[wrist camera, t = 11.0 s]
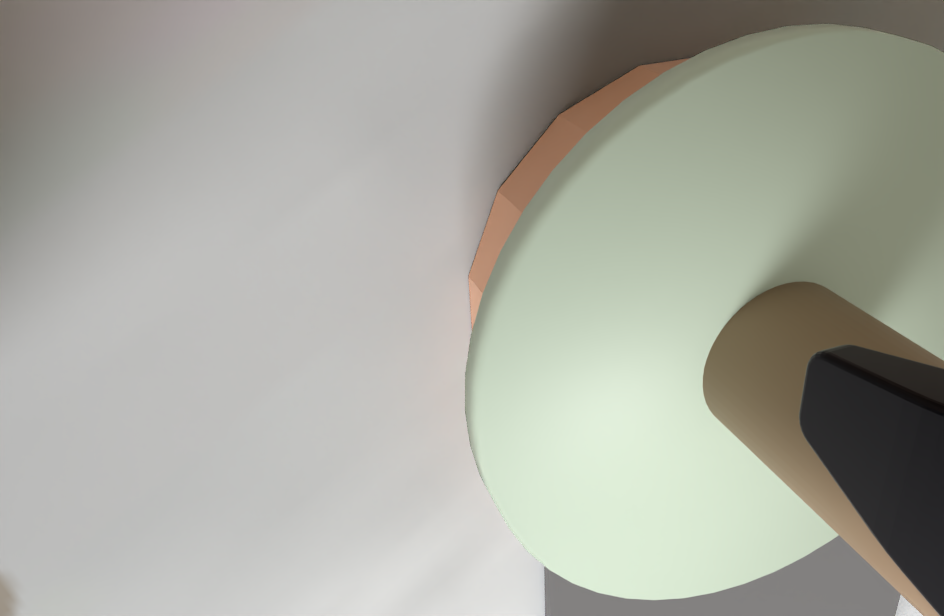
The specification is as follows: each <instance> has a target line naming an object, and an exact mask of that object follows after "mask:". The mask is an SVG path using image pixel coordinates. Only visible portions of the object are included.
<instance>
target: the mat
mask: <svg viewBox="0 0 944 616" xmlns="http://www.w3.org/2000/svg"><path fill="white" fill-rule="evenodd" d="M900 595H901V594H900V593H899V592H898V591H897V590H896V589H895V588H894V587H893V586H892V585H891V584H890V583H889V582H888V581H887V580H885V579H884V578H883V577H882V576H881V575H880V574H879V573H878V572H877V571H876V570H875V569H874V568H873V567H872V566H871V565H870V564H869V563H868V562H867V561H866V560H865V559H863V558H862V557H861V556H860V555H859V554H858V553H857V552H856V551H855V550H854V549H853V548H852V547H851V546H850V545H849V544H848V543H847V542H846V541H845V540H844V539H843V538H842V537H840V536H839V535H838V536H837V537H835V538H834V539H833V540H831V541H829V542H828V543H826V544H825V545H823V546H821V547H820V548H818V549H816V550H815V551H813V552H811V553H810V554H808V555H806V556H805V557H803V558H801V559H799V560H797V561H795V562H793V563H791V564H789V565H787V566H785V567H783V568H781V569H779V570H777V571H775V572H773V573H770V574H768V575H765V576H763V577H760V578H758V579H755V580H753V581H750V582H748V583H745V584H742V585H739V586H735V587H732V588H729V589H725V590H722V591H718V592H715V593H710V594H704V595H699V596H693V597H688V598H680V599H665V600H643V599H626V598H621V597H616V596H611V595H606V594H601V593H597V592H595V591H592V590H589V589H586V588H584V587H581V586H578V585H576V584H573V583H571V582H569V581H568V580H566V579H564V578H562V577H561V576H559V575H557V574H556V573H554V572H552V571H550V570H549V569H548V568H546V567H545V616H895V614H896V610H897V606H898V602H899V598H900Z"/></svg>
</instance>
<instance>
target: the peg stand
mask: <svg viewBox="0 0 944 616" xmlns="http://www.w3.org/2000/svg"><path fill="white" fill-rule="evenodd" d="M846 344H851V345H856V346H860V347H864V348H868V349H871V350H875V351H879V352H883V353H886V354H890V355H894V356H898V357H902V358H905V359H909V360H913V361H917V362H921V363H924V364H928V365H932V366H936V367H940V368H943V369H944V52H942V51H940V50H938V49H936V48H934V47H933V46H930V45H927V44H924V43H920V42H917V41H914V40H910V39H907V38H904V37H901V36H897V35H893V34H889V33H885V32H880V31H876V30H872V29H868V28H864V27H855V26H846V25H837V24H828V23H826V24H810V25H793V26H785V27H780V28H776V29H771V30H767V31H762V32H758V33H753V34H749V35H745V36H743V37H740V38H737V39H735V40H732V41H729V42H727V43H724V44H721V45H718V46H716V47H713V48H710V49H708V50H705V51H703V52H701V53H699V54H698V55H696V56H694V57H692V58H690V59H688V60H686V61H684V62H682V63H681V64H679V65H677V66H675V67H673V68H671V69H669V70H667V71H665V72H664V73H662V74H661V75H659V76H658V77H656V78H655V79H653V80H652V81H651V82H649V83H648V84H646V85H645V86H643V87H642V88H641V89H639V90H638V91H636V92H635V93H633V94H632V95H630V96H629V97H628V98H626V99H625V100H623V101H622V102H621V103H620V104H619V105H618V106H617V107H615V108H614V109H613V110H612V111H611V112H610V113H609V114H607V115H606V116H605V117H604V118H603V119H602V120H601V121H599V122H598V123H597V124H596V125H595V126H594V127H593V128H591V129H590V130H589V131H588V132H587V133H586V134H585V135H584V136H583V137H582V138H581V139H580V141H579V142H578V143H577V144H576V145H575V146H574V147H573V148H572V149H571V150H570V152H569V153H568V154H567V155H566V156H565V157H564V158H563V159H562V160H561V161H560V163H559V164H558V165H557V166H556V167H555V168H554V169H553V170H552V172H551V173H550V175H549V176H548V177H547V179H546V180H545V181H544V183H543V184H542V186H541V187H540V188H539V190H538V191H537V192H536V194H535V195H534V197H533V198H532V199H531V201H530V202H529V203H528V205H527V206H526V208H525V209H524V211H523V212H522V214H521V216H520V218H519V219H518V221H517V223H516V225H515V226H514V228H513V230H512V232H511V233H510V235H509V237H508V239H507V241H506V242H505V244H504V246H503V248H502V249H501V251H500V254H499V256H498V258H497V261H496V263H495V265H494V268H493V270H492V272H491V275H490V277H489V280H488V282H487V284H486V287H485V289H484V291H483V294H482V298H481V301H480V305H479V308H478V312H477V315H476V319H475V322H474V326H473V329H472V333H471V338H470V345H469V352H468V359H467V365H466V372H465V414H466V421H467V427H468V434H469V441H470V446H471V449H472V452H473V455H474V458H475V462H476V465H477V468H478V471H479V474H480V476H481V478H482V480H483V482H484V484H485V486H486V488H487V490H488V491H489V493H490V495H491V497H492V499H493V501H494V503H495V504H496V506H497V508H498V510H499V511H500V513H501V515H502V517H503V518H504V520H505V522H506V524H507V525H508V527H509V529H510V530H511V531H512V533H513V534H514V535H515V536H516V538H517V539H518V540H519V541H520V543H521V544H522V545H523V546H524V548H525V549H526V550H527V551H528V552H529V553H530V554H531V555H532V556H534V557H535V558H536V559H537V560H538V561H539V562H541V563H542V564H543V565H544V566H545V567H546V568H548V569H549V570H550V571H552V572H554V573H556V574H557V575H559V576H561V577H562V578H564V579H566V580H568V581H569V582H571V583H573V584H576V585H578V586H581V587H584V588H586V589H589V590H592V591H595V592H597V593H601V594H606V595H611V596H616V597H621V598H626V599H643V600H665V599H680V598H688V597H693V596H699V595H704V594H710V593H715V592H718V591H722V590H725V589H729V588H732V587H735V586H739V585H742V584H745V583H748V582H750V581H753V580H755V579H758V578H760V577H763V576H765V575H768V574H770V573H773V572H775V571H777V570H779V569H781V568H783V567H785V566H787V565H789V564H791V563H793V562H795V561H797V560H799V559H801V558H803V557H805V556H806V555H808V554H810V553H811V552H813V551H815V550H816V549H818V548H820V547H821V546H823V545H825V544H826V543H828V542H829V541H831V540H833V539H834V538H835V537H837V536H838V535H839V536H840V537H842V538H843V539H844V540H845V541H846V542H847V543H848V544H849V545H850V546H851V547H852V548H853V549H854V550H855V551H856V552H857V553H858V554H859V555H860V556H861V557H862V558H863V559H865V560H866V561H867V562H868V563H869V564H870V565H871V566H872V567H873V568H874V569H875V570H876V571H877V572H878V573H879V574H880V575H881V576H882V577H883V578H884V579H885V580H887V581H888V582H889V583H890V584H891V585H892V586H893V587H894V588H895V589H896V590H897V591H898V592H899V593H900V594H901V595H902V596H903V597H904V598H905V599H906V600H907V601H908V602H910V603H911V604H912V605H913V606H914V607H915V608H916V609H917V610H918V611H919V612H920V613H921V614H922V615H923V616H939V615H938V613H937V612H936V611H935V610H934V609H933V608H932V606H931V605H930V604H929V603H928V602H927V601H926V599H925V598H924V597H923V596H922V595H921V594H920V592H919V591H918V590H917V589H916V588H915V587H914V585H913V584H912V583H911V582H910V581H909V580H908V578H907V577H906V576H905V575H904V574H903V573H902V571H901V570H900V569H899V568H898V566H897V565H896V564H895V563H894V562H893V560H892V559H891V558H890V557H889V555H888V554H887V553H886V552H885V550H884V549H883V548H882V546H881V545H880V544H879V542H878V541H877V540H876V538H875V537H874V536H873V534H872V533H871V531H870V530H869V529H868V527H867V526H866V524H865V523H864V521H863V520H862V519H861V517H860V516H859V514H858V513H857V512H856V510H855V509H854V507H853V506H852V504H851V503H850V502H849V500H848V499H847V497H846V496H845V495H844V493H843V492H842V490H841V489H840V487H839V486H838V485H837V483H836V482H835V480H834V479H833V478H832V476H831V475H830V473H829V472H828V470H827V469H826V468H825V466H824V465H823V463H822V462H821V461H820V459H819V458H818V456H817V455H816V453H815V452H814V451H813V449H812V448H811V446H810V445H809V444H808V442H807V441H806V439H805V437H804V435H803V433H802V431H801V427H800V424H799V411H800V404H801V398H802V392H803V386H804V380H805V374H806V368H807V364H808V361H809V360H810V358H811V356H812V355H813V354H815V353H816V352H818V351H821V350H825V349H829V348H832V347H836V346H840V345H846Z"/></svg>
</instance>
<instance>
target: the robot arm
mask: <svg viewBox="0 0 944 616" xmlns="http://www.w3.org/2000/svg"><path fill="white" fill-rule="evenodd" d="M799 424H800V427H801V431H802V433H803V435H804V437H805V439H806V441H807V442H808V444H809V445H810V446H811V448H812V449H813V451H814V452H815V453H816V455H817V456H818V458H819V459H820V461H821V462H822V463H823V465H824V466H825V468H826V469H827V470H828V472H829V473H830V475H831V476H832V478H833V479H834V480H835V482H836V483H837V485H838V486H839V487H840V489H841V490H842V492H843V493H844V495H845V496H846V497H847V499H848V500H849V502H850V503H851V504H852V506H853V507H854V509H855V510H856V512H857V513H858V514H859V516H860V517H861V519H862V520H863V521H864V523H865V524H866V526H867V527H868V529H869V530H870V531H871V533H872V534H873V536H874V537H875V538H876V540H877V541H878V542H879V544H880V545H881V546H882V548H883V549H884V550H885V552H886V553H887V554H888V555H889V557H890V558H891V559H892V560H893V562H894V563H895V564H896V565H897V566H898V568H899V569H900V570H901V571H902V573H903V574H904V575H905V576H906V577H907V578H908V580H909V581H910V582H911V583H912V584H913V585H914V587H915V588H916V589H917V590H918V591H919V592H920V594H921V595H922V596H923V597H924V598H925V599H926V601H927V602H928V603H929V604H930V605H931V606H932V608H933V609H934V610H935V611H936V612H937V613H938V615H939V616H944V369H943V368H940V367H936V366H932V365H928V364H924V363H921V362H917V361H913V360H909V359H905V358H902V357H898V356H894V355H890V354H886V353H883V352H879V351H875V350H871V349H868V348H864V347H860V346H856V345H851V344H846V345H840V346H836V347H832V348H829V349H825V350H821V351H818V352H816V353H815V354H813V355H812V356H811V358H810V360H809V361H808V364H807V368H806V374H805V380H804V386H803V392H802V398H801V404H800V411H799Z"/></svg>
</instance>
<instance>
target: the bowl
mask: <svg viewBox="0 0 944 616" xmlns="http://www.w3.org/2000/svg"><path fill="white" fill-rule="evenodd" d="M688 59H690V58H687V59H681V60H674V61H667V62H661V63H654V64H647V65H641V66H638V67H636V68H635V69H633V70H631V71H630V72H628V73H627V74H625V75H623V76H622V77H620V78H618V79H617V80H615V81H613V82H612V83H610V84H608V85H607V86H605V87H604V88H602V89H600V90H599V91H597V92H595V93H594V94H592V95H590V96H589V97H587V98H585V99H584V100H582V101H581V102H579V103H577V104H576V105H574V106H572V107H571V108H569V109H567V110H566V111H564V112H563V113H561V114H559V115H558V116H557V118H556V119H555V120H554V121H553V123H552V124H551V125H550V126H549V128H548V129H547V130H546V131H545V132H544V134H543V135H542V136H541V137H540V139H539V140H538V141H537V142H536V144H535V145H534V146H533V147H532V149H531V150H530V151H529V152H528V154H527V155H526V156H525V157H524V159H523V160H522V161H521V162H520V164H519V165H518V166H517V167H516V169H515V170H514V171H513V172H512V174H511V175H510V176H509V177H508V179H507V180H506V181H505V182H504V184H503V185H502V186H501V187H500V189H499V190H498V191H497V194H496V197H495V200H494V203H493V206H492V209H491V212H490V215H489V218H488V221H487V224H486V226H485V229H484V232H483V235H482V238H481V241H480V244H479V247H478V250H477V253H476V256H475V259H474V261H473V264H472V267H471V270H470V273H469V292H470V308H471V324H472V329H473V326H474V322H475V319H476V315H477V312H478V308H479V305H480V301H481V298H482V294H483V291H484V289H485V287H486V284H487V282H488V280H489V277H490V275H491V272H492V270H493V268H494V265H495V263H496V261H497V258H498V256H499V254H500V251H501V249H502V248H503V246H504V244H505V242H506V241H507V239H508V237H509V235H510V233H511V232H512V230H513V228H514V226H515V225H516V223H517V221H518V219H519V218H520V216H521V214H522V212H523V211H524V209H525V208H526V206H527V205H528V203H529V202H530V201H531V199H532V198H533V197H534V195H535V194H536V192H537V191H538V190H539V188H540V187H541V186H542V184H543V183H544V181H545V180H546V179H547V177H548V176H549V175H550V173H551V172H552V170H553V169H554V168H555V167H556V166H557V165H558V164H559V163H560V161H561V160H562V159H563V158H564V157H565V156H566V155H567V154H568V153H569V152H570V150H571V149H572V148H573V147H574V146H575V145H576V144H577V143H578V142H579V141H580V139H581V138H582V137H583V136H584V135H585V134H586V133H587V132H588V131H589V130H590V129H591V128H593V127H594V126H595V125H596V124H597V123H598V122H599V121H601V120H602V119H603V118H604V117H605V116H606V115H607V114H609V113H610V112H611V111H612V110H613V109H614V108H615V107H617V106H618V105H619V104H620V103H621V102H622V101H623V100H625V99H626V98H628V97H629V96H630V95H632V94H633V93H635V92H636V91H638V90H639V89H641V88H642V87H643V86H645V85H646V84H648V83H649V82H651V81H652V80H653V79H655V78H656V77H658V76H659V75H661V74H662V73H664V72H665V71H667V70H669V69H671V68H673V67H675V66H677V65H679V64H681V63H682V62H684V61H686V60H688Z"/></svg>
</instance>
